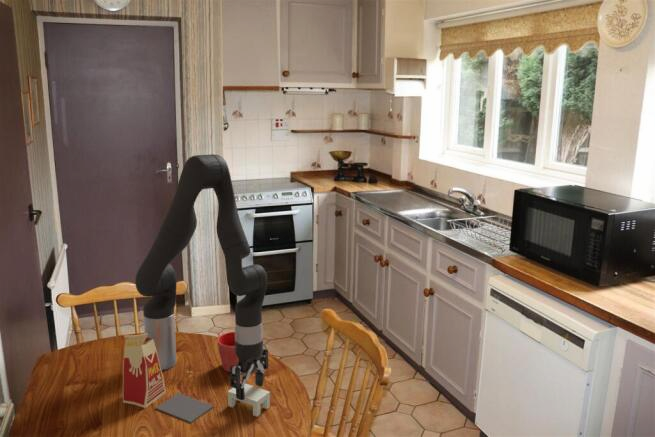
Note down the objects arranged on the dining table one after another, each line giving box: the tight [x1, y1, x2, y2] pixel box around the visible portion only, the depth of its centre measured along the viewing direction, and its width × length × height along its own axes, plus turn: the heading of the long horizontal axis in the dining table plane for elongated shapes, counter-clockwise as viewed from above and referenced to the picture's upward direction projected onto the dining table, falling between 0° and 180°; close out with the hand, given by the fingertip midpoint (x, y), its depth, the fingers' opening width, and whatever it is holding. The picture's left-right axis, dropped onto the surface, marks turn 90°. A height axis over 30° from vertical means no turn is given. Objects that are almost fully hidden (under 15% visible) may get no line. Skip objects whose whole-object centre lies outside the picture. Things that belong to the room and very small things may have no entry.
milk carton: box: [122, 333, 167, 409], centre depth 161 cm, size 9×9×20 cm
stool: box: [227, 382, 271, 418], centre depth 159 cm, size 5×6×10 cm
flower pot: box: [216, 331, 239, 373], centre depth 181 cm, size 11×11×10 cm
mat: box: [154, 392, 215, 424], centre depth 158 cm, size 13×9×1 cm
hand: (250, 392), depth 159 cm, fingers open, 8 cm apart
